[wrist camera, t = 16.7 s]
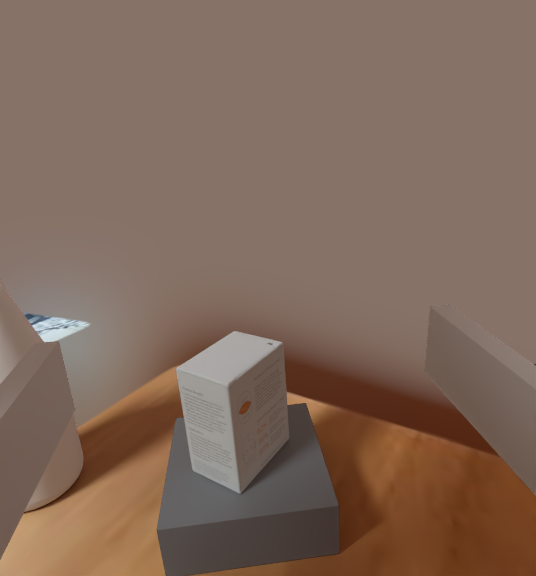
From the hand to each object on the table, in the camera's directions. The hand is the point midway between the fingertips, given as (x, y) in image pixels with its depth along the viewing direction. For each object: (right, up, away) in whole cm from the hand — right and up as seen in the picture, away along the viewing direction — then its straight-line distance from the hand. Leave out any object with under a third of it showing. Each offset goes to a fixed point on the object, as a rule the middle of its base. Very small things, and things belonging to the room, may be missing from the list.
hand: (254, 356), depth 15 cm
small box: (-2, -13, +24) cm, 28 cm away
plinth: (-1, -18, +26) cm, 31 cm away
